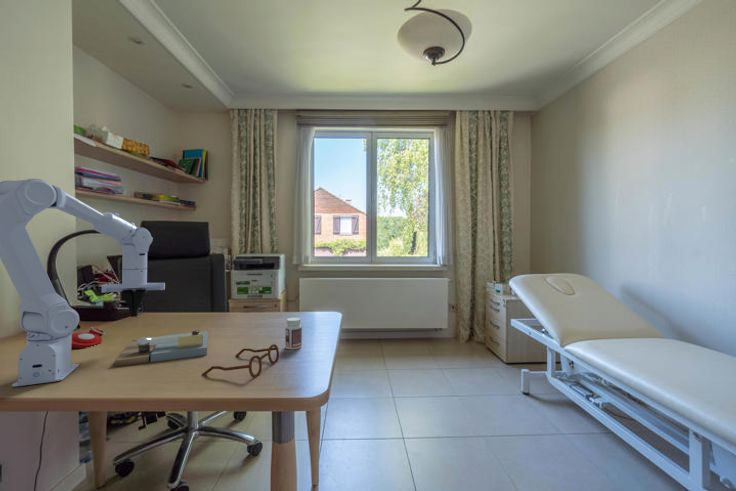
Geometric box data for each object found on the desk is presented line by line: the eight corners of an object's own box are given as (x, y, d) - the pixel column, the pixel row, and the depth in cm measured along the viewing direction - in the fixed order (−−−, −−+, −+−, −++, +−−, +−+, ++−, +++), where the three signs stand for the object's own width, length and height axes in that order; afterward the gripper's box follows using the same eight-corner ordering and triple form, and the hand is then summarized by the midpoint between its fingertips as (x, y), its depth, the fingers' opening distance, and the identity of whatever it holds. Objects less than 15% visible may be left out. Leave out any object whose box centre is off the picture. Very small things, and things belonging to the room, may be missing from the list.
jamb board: (148, 362, 79) (148, 351, 79) (115, 366, 76) (115, 355, 76) (160, 342, 96) (160, 333, 96) (133, 345, 93) (133, 335, 93)
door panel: (206, 354, 85) (206, 347, 85) (150, 362, 80) (150, 354, 80) (208, 337, 101) (208, 331, 101) (161, 342, 96) (161, 335, 96)
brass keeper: (203, 345, 87) (203, 334, 87) (178, 348, 84) (178, 337, 84) (203, 341, 91) (203, 330, 91) (179, 343, 88) (179, 333, 88)
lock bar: (135, 347, 81) (135, 338, 81) (138, 344, 84) (138, 335, 84) (199, 340, 87) (199, 332, 87) (199, 337, 90) (199, 329, 90)
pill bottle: (303, 345, 95) (303, 317, 95) (298, 350, 90) (298, 321, 90) (288, 344, 95) (288, 316, 95) (282, 349, 90) (283, 320, 90)
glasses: (252, 382, 70) (252, 360, 70) (201, 376, 72) (201, 355, 72) (280, 361, 82) (280, 342, 82) (236, 357, 85) (236, 338, 85)
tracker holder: (103, 343, 92) (57, 340, 86) (98, 356, 92) (52, 355, 86) (107, 324, 101) (66, 321, 95) (103, 337, 102) (62, 335, 95)
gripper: (166, 267, 96) (166, 311, 96) (107, 268, 90) (106, 315, 90) (163, 269, 90) (162, 316, 90) (99, 270, 83) (98, 320, 83)
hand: (134, 316), depth 89 cm, fingers closed
